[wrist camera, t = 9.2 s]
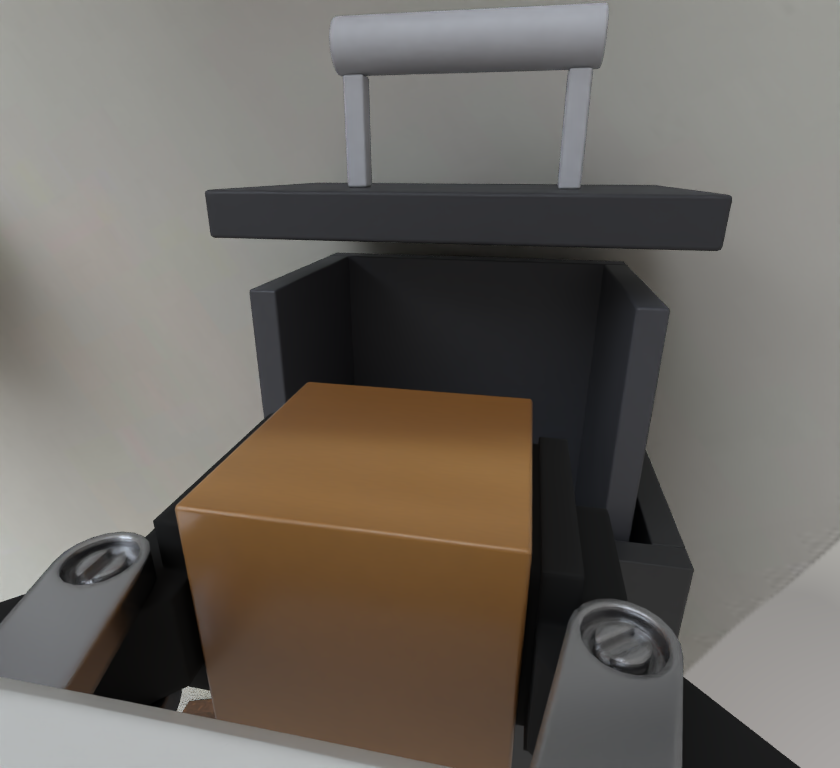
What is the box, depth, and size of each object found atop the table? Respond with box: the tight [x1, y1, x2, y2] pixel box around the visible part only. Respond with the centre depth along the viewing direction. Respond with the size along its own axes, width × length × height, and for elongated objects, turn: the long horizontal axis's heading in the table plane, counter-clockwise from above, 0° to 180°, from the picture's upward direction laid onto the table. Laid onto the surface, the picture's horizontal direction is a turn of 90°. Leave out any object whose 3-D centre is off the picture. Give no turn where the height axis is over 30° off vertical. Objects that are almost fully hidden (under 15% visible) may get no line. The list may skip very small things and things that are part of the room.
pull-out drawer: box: [205, 2, 732, 542], centre depth 18 cm, size 19×13×8 cm, turn 0°
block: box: [175, 382, 533, 768], centre depth 9 cm, size 4×4×4 cm
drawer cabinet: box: [511, 450, 694, 768], centre depth 23 cm, size 16×14×10 cm
